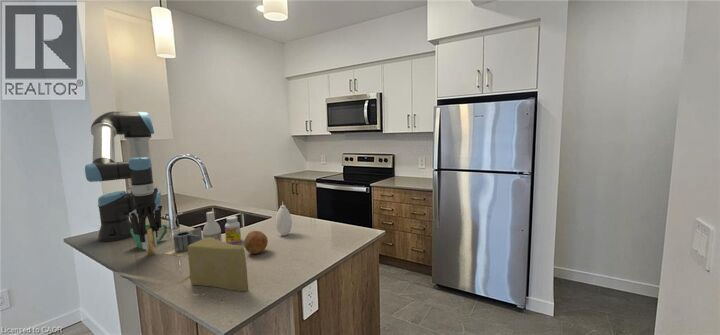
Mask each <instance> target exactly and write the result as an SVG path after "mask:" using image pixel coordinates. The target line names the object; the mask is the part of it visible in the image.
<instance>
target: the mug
mask: <svg viewBox="0 0 720 335" xmlns="http://www.w3.org/2000/svg"><path fill="white" fill-rule="evenodd" d="M147 227H150V224H145V228H147ZM167 227H168V226H167V225H166V224H165V223H161V228H163V231H162V232H161V234H160V236H159V237H157V238H156V240H157V244H158V243H159V242H160V241H162V240H163V238H164V237H165V235H166V234H167V233H168V232H167V231H168V228H167ZM130 231H131V234H132V236H131V237H132V239H133V241H134V243H135V245H136V247H137V248H138V249H143V247H142V242H140V237H139V235H135V234H134V232H133V228H132V229H131V230H130Z"/></svg>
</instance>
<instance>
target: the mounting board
mask: <svg viewBox="0 0 720 335" xmlns="http://www.w3.org/2000/svg"><path fill="white" fill-rule="evenodd" d="M162 254H164V255H170V256H178V257H185V258H188V251H186V252H175V248H172V249H169V250H167V251H166V250H165V252H162Z"/></svg>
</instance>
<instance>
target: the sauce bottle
mask: <svg viewBox="0 0 720 335" xmlns="http://www.w3.org/2000/svg"><path fill="white" fill-rule="evenodd" d="M281 204H282V205H280V206H279V209H278V210H277V212H276V216H275V228H276V231H277V232H278V234H280V236H284V237H285V236H287V235H289V233H290V232H291V231H292V228H293V227H292V226H293V220H292V216H291V213H290V211H289V209H288V208H287V207H286V205H285V204H284V201H283V200H282V202H281Z"/></svg>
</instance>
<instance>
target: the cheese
mask: <svg viewBox="0 0 720 335" xmlns="http://www.w3.org/2000/svg"><path fill="white" fill-rule="evenodd" d="M187 249H188V257H187V260H188V268H189V277H190V284H191V285H192V286H203V287H213V288H220V289H224V290H228V291H229V290H230V291H235V290H236V292H241V291H245V292H247V291H248V290H249V282H248V281H249V280H248V270H247V269H248V268H247V260H246V259H247V258H246V253H245V252H246V250H245V247H243V246H241V245H238V244H229V243H226V241H225V242H224V241H222V242H221V241H219V240H217V239H214V238H211V237H209V238H205V239H203V238H202V240H200V241H197V242H195V243H192V244H190V245H189V246H188V247H187Z"/></svg>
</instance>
